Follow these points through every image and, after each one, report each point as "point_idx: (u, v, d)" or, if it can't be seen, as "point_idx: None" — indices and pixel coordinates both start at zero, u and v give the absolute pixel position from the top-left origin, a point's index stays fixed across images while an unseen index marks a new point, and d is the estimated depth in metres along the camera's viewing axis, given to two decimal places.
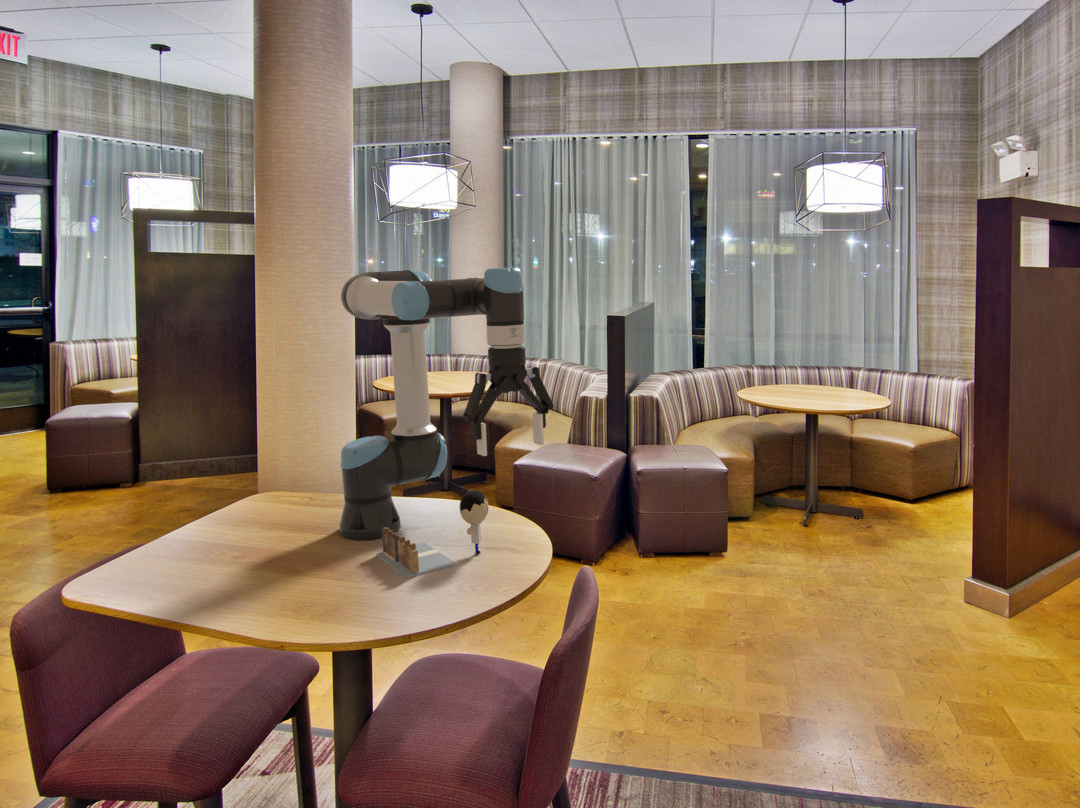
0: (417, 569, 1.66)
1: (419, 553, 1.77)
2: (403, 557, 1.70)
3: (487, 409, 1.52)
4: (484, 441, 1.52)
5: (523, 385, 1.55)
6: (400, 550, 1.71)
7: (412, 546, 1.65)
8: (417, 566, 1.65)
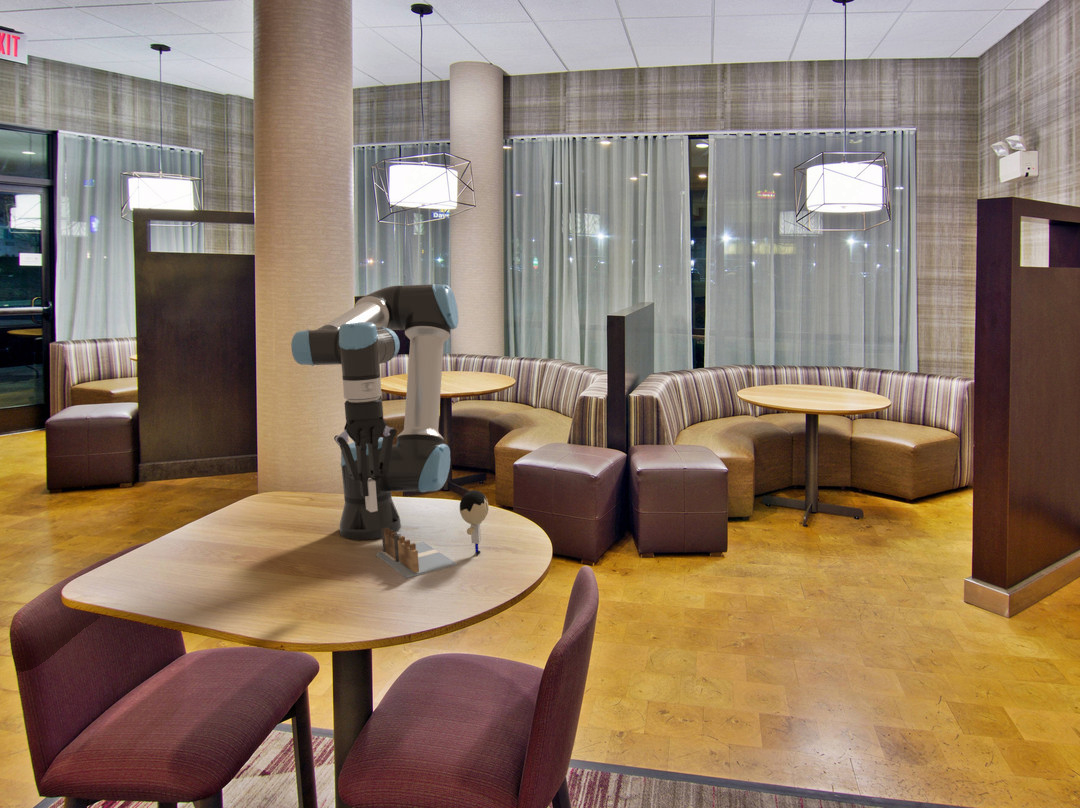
0: (417, 569, 1.66)
1: (419, 553, 1.77)
2: (403, 557, 1.70)
3: (365, 465, 1.57)
4: (371, 498, 1.59)
5: (374, 440, 1.57)
6: (400, 550, 1.71)
7: (412, 546, 1.65)
8: (417, 566, 1.65)
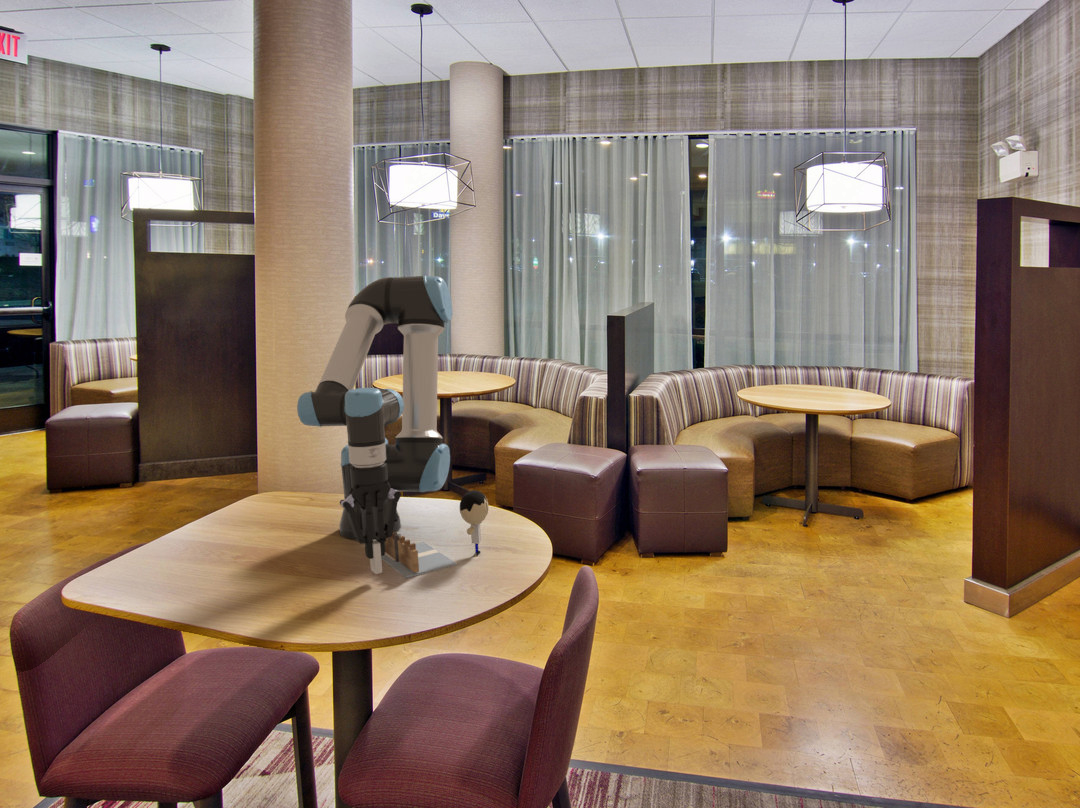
0: (417, 569, 1.66)
1: (419, 553, 1.77)
2: (403, 557, 1.70)
3: (370, 528, 1.59)
4: (376, 560, 1.61)
5: (379, 503, 1.59)
6: (400, 550, 1.71)
7: (412, 546, 1.65)
8: (417, 566, 1.65)
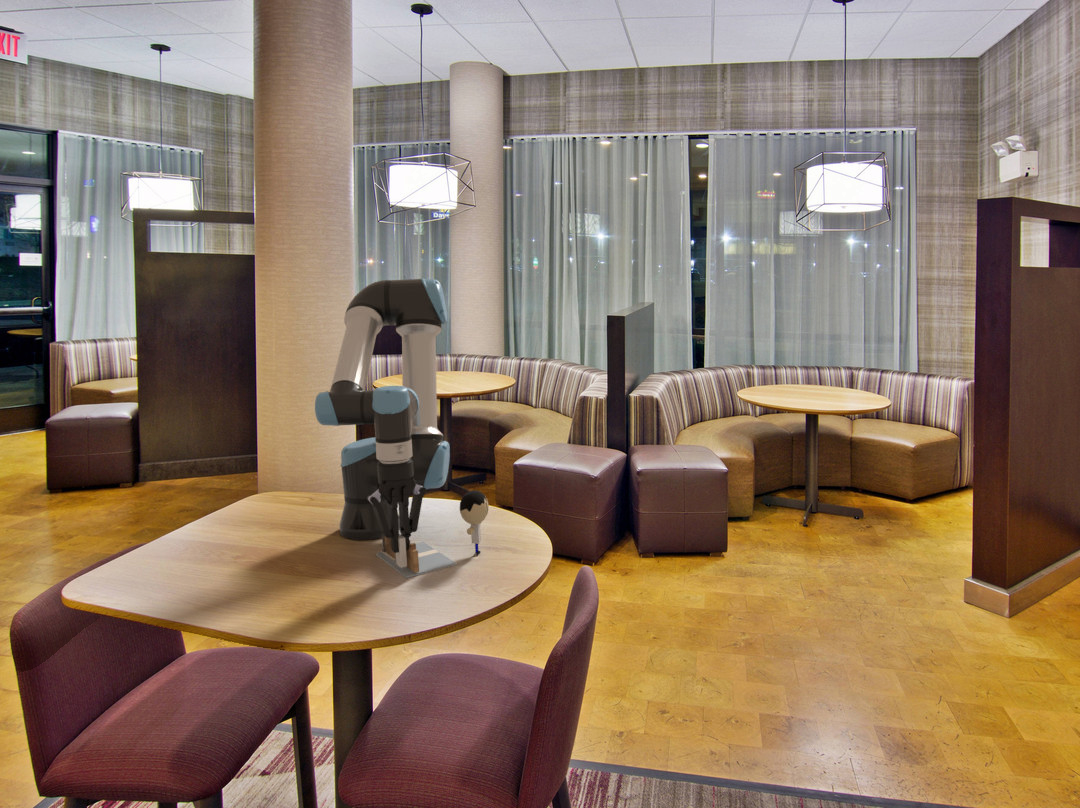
0: (417, 569, 1.66)
1: (419, 553, 1.77)
2: None
3: (396, 523, 1.63)
4: (401, 554, 1.65)
5: (405, 499, 1.63)
6: None
7: (412, 546, 1.65)
8: (417, 566, 1.65)
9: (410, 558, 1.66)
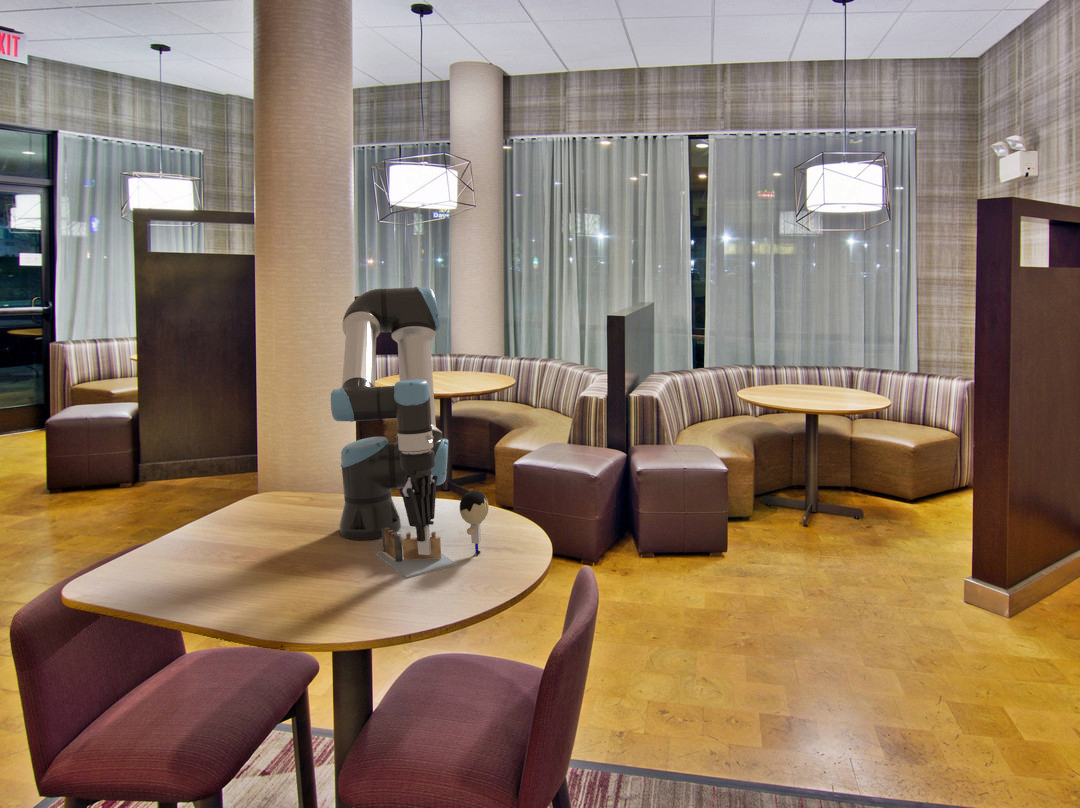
0: None
1: None
2: (414, 552, 1.73)
3: (423, 511, 1.69)
4: (428, 541, 1.70)
5: (428, 487, 1.70)
6: (407, 547, 1.72)
7: (435, 534, 1.72)
8: None
9: (431, 547, 1.72)
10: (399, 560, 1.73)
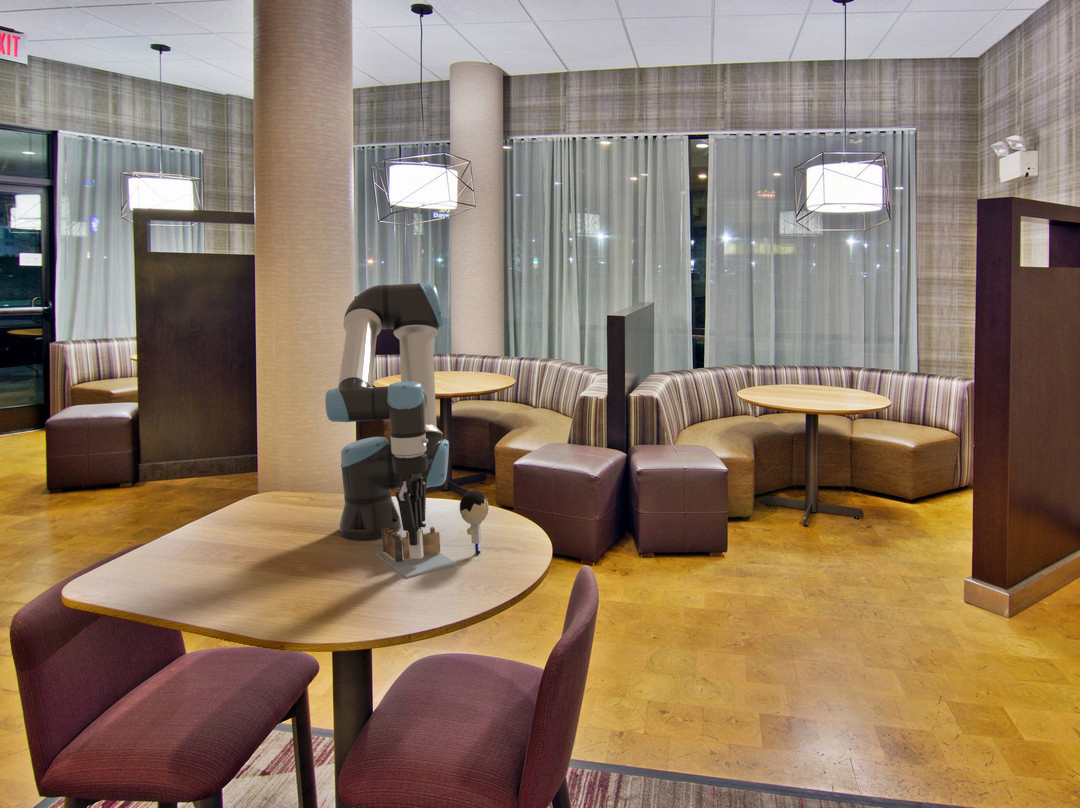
0: None
1: None
2: None
3: (417, 515, 1.67)
4: (420, 545, 1.69)
5: (421, 490, 1.68)
6: (408, 546, 1.73)
7: None
8: None
9: (431, 542, 1.75)
10: (399, 560, 1.73)
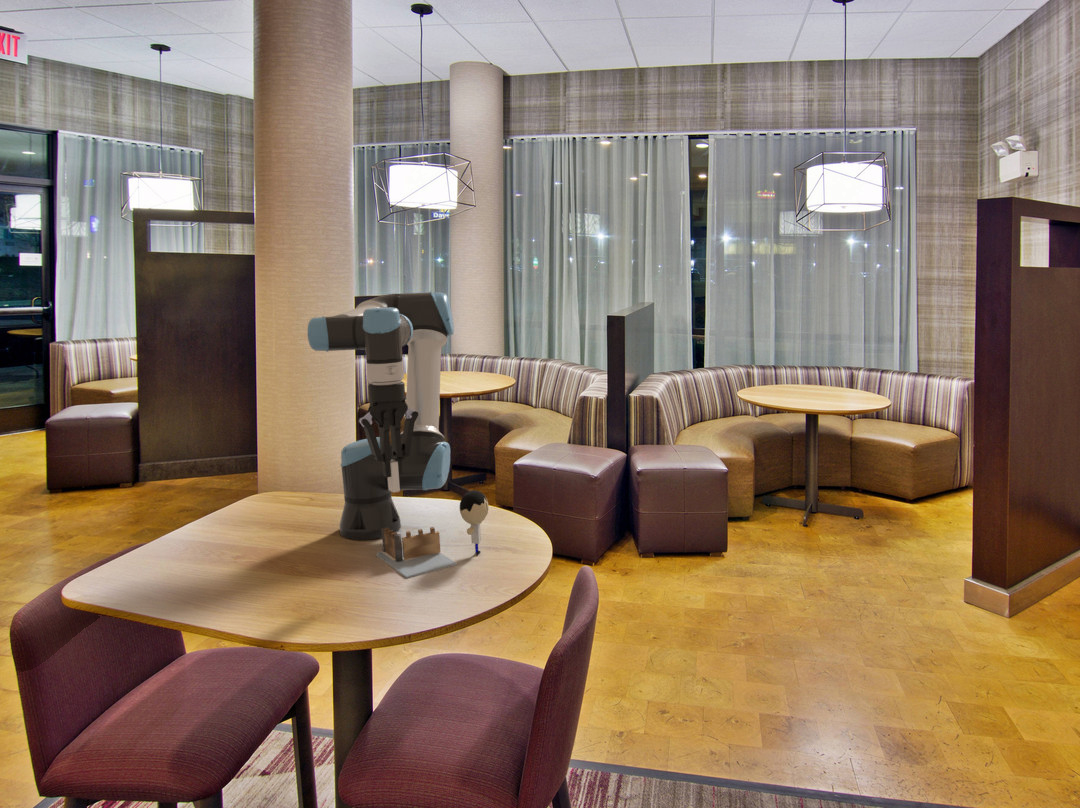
0: None
1: None
2: (414, 550, 1.74)
3: (388, 446, 1.62)
4: (393, 478, 1.63)
5: (397, 422, 1.61)
6: (408, 546, 1.73)
7: None
8: None
9: (431, 542, 1.75)
10: (399, 560, 1.73)
